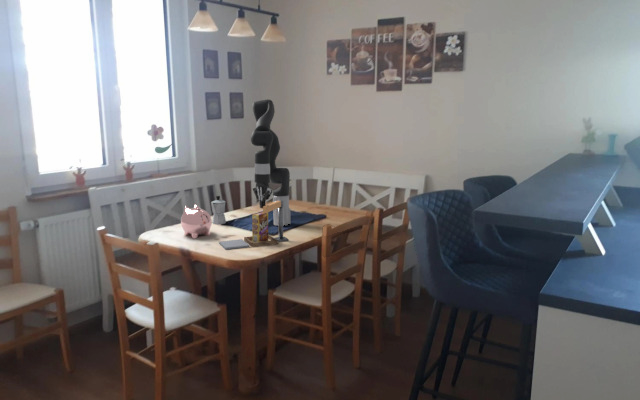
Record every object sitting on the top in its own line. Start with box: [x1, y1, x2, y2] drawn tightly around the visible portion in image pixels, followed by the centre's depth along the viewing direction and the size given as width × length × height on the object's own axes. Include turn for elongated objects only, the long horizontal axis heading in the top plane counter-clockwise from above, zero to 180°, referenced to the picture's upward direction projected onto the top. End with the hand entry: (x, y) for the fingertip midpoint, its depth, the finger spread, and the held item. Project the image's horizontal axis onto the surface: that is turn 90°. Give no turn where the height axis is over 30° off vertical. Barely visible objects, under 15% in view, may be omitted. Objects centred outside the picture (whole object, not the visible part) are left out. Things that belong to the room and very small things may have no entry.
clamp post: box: [274, 207, 289, 243], centre depth 262 cm, size 6×6×18 cm
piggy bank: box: [180, 204, 213, 239], centre depth 275 cm, size 15×18×16 cm
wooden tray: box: [243, 234, 279, 248], centre depth 259 cm, size 14×14×2 cm
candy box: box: [251, 211, 269, 242], centre depth 258 cm, size 9×4×15 cm, turn 151°
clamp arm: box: [262, 200, 283, 214], centre depth 253 cm, size 21×3×3 cm, turn 162°
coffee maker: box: [210, 195, 227, 225], centre depth 301 cm, size 15×9×18 cm, turn 161°
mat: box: [218, 238, 250, 251], centre depth 254 cm, size 12×14×1 cm
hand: (262, 208), depth 247 cm, fingers closed
